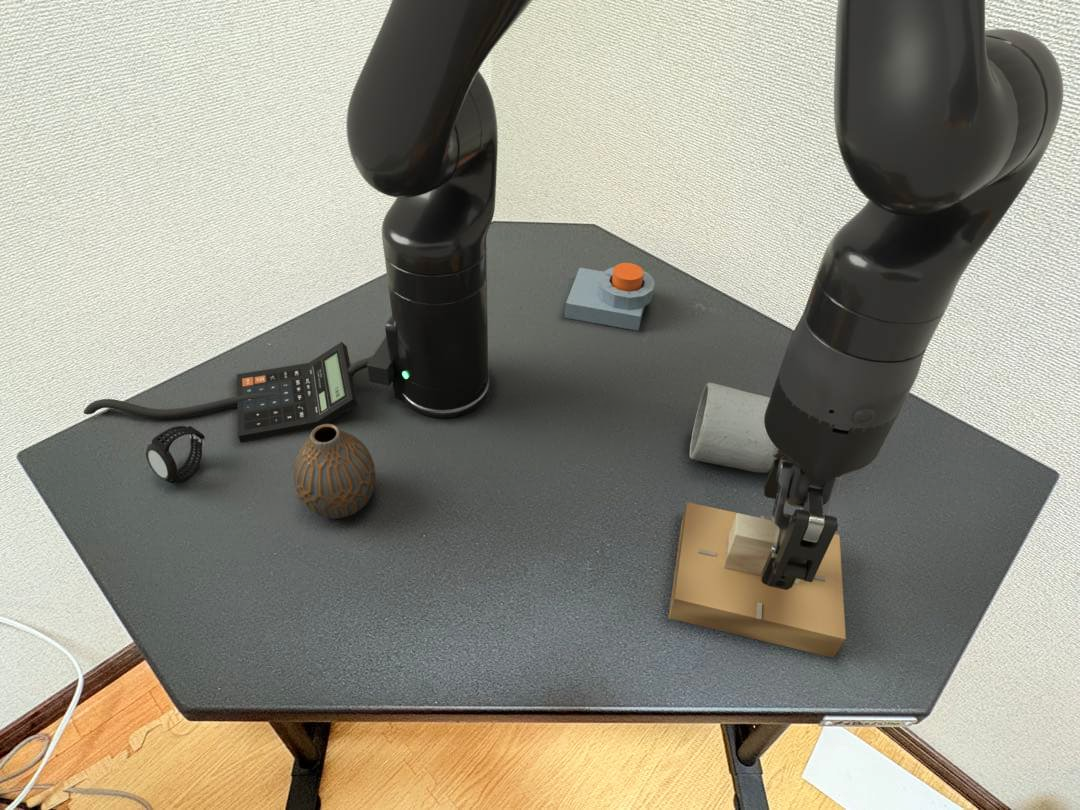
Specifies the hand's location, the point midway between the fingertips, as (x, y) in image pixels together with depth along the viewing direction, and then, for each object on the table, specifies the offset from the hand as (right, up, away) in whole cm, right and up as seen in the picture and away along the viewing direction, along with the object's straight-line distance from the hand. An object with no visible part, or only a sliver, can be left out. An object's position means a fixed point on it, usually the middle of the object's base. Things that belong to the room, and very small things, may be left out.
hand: (775, 537), depth 57 cm
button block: (-10, +23, +33) cm, 41 cm away
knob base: (-1, -5, +5) cm, 7 cm away
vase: (-37, +1, +10) cm, 38 cm away
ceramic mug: (0, +6, +17) cm, 18 cm away
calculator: (-44, +11, +19) cm, 49 cm away
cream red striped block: (0, -3, +3) cm, 4 cm away
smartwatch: (-51, +4, +11) cm, 53 cm away
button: (-8, +25, +30) cm, 40 cm away
